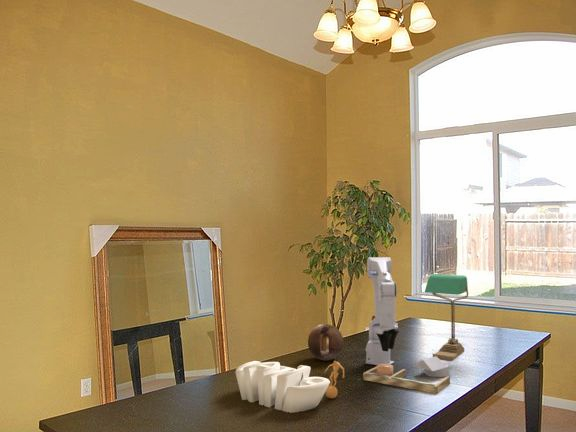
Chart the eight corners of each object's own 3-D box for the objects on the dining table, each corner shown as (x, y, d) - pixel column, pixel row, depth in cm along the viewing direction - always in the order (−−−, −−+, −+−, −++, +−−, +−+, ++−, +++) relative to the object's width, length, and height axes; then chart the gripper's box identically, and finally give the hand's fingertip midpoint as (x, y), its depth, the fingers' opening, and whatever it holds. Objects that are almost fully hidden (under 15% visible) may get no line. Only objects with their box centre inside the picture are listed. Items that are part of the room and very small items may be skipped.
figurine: (318, 396, 178) (318, 360, 178) (329, 392, 182) (329, 357, 183) (337, 402, 172) (337, 365, 173) (348, 398, 177) (348, 361, 177)
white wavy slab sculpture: (223, 394, 181) (223, 363, 181) (257, 383, 193) (257, 354, 193) (303, 419, 158) (303, 383, 158) (336, 405, 170) (336, 371, 170)
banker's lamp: (472, 352, 238) (472, 274, 239) (460, 362, 221) (460, 278, 221) (437, 347, 247) (437, 272, 247) (423, 357, 229) (422, 276, 230)
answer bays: (363, 379, 197) (363, 372, 197) (379, 370, 209) (379, 364, 209) (436, 393, 181) (436, 385, 181) (450, 383, 193) (450, 375, 193)
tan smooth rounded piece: (374, 378, 199) (374, 366, 199) (381, 374, 204) (381, 362, 204) (389, 381, 196) (389, 368, 196) (395, 377, 200) (395, 365, 201)
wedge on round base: (432, 380, 196) (453, 374, 204) (432, 362, 196) (453, 356, 205) (413, 375, 203) (433, 369, 212) (413, 357, 203) (433, 352, 212)
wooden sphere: (317, 353, 236) (316, 320, 236) (348, 358, 229) (348, 323, 229) (301, 361, 223) (301, 325, 223) (335, 366, 215) (334, 329, 216)
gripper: (389, 317, 194) (389, 355, 194) (405, 312, 206) (405, 347, 206) (371, 315, 198) (371, 352, 198) (388, 310, 210) (388, 345, 210)
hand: (387, 349), depth 202 cm, fingers open, 4 cm apart
